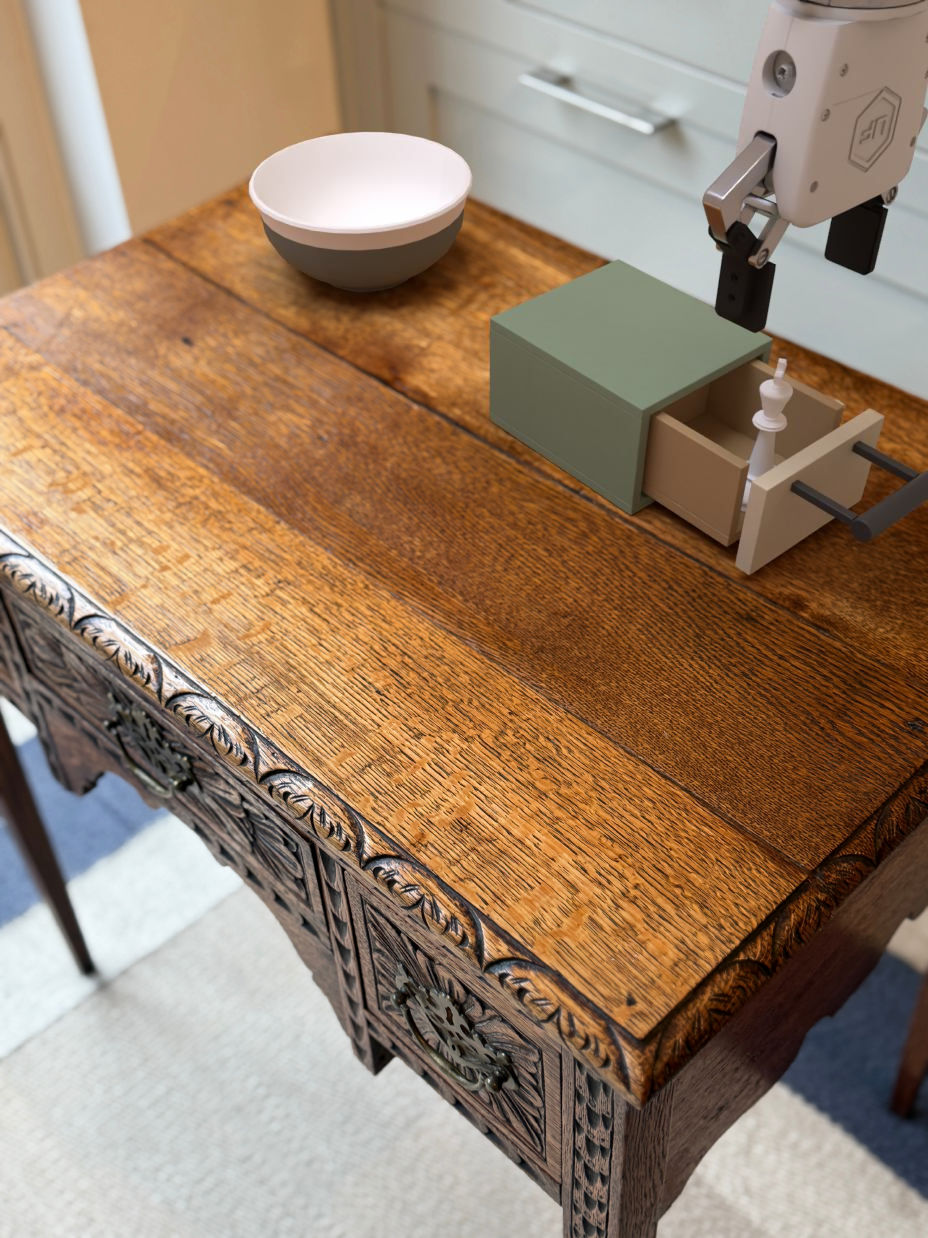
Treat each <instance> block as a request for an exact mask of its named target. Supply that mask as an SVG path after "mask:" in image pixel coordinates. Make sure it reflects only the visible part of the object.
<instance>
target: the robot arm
mask: <svg viewBox="0 0 928 1238" xmlns="http://www.w3.org/2000/svg"><path fill="white" fill-rule="evenodd" d="M746 90H747V91H746V93H745V94H746V95H745V99H744V104H743V109H742V115H741V119H740V125H739V130H738V138H737V144H736V148H735V149H736V151H735V157H734V158H735V159H733V161H732V162H731V163H730V164H729V165H728V166H727V167H726V168H725V169H724V170H723V172H722V173H721V174H720V175H719V176H718V177H717V178H716V179H715V180H714V181H713V183H711V184H710V186H708V188H706V190H705V191H704V193H703V196H702V206H703V210H704V214H705V217H706V221H707V224H708V228H707V233H708V236H709V237H710V238H711V240H713V241H714V242H715V249H716V251H718V252H720V253H721V259H720V268H719V276H718V282H717V289H716V295H715V296H716V297H715V303H714V309H715V311H716V313H717V315H719V316H720V317H722V318H724V319H726V320H728V321H730V322H732V323H734V324H736V325H738V326H741V327H743V328H745V329H747V330H749V331H751V332H753V333H757V332H761V331H764V329H765V328H766V325H767V321H768V316H769V309H770V305H771V299H772V292H773V287H774V280H775V275H776V270H777V269H776V268H777V263H774V262H772V261H770V258H772V255H773V254H774V252H775V250H776V248H777V247H778V245H779V243H780V241H781V240H782V239H783V236H784V235H785V233H786V232H787V229H788V228H789V226H790V225H792V226H794V227H796V228H798V229H807V228H811V227H814V226H817V225H820V224H822V223H823V222H825V221H828V220H830V219H831V220H830V222H829V223H830V224H829V229H828V233H827V239H826V244H825V249H824V253H823V255H824V259H825V260H827V261H829V262H831V263H832V264H835V265H838V266H840V267H842V268H845V269H847V270H848V271H849V270H850V271H852V272H854V273H857V274H859V275H861V276H867V275H869V274H871V273H873V272H875V271H874V270H875V268H876V265H877V260H878V256H879V251H880V247H881V243H882V239H883V234H884V231H885V226H886V222H887V216H888V213H889V208H887V207H888V206H891V205H892V204H893V202H895V200H896V198H897V196H898V194H899V184H900V183H901V182H902V181H903V180H904V179H905V178H906V176H908V174H909V172H910V169H911V166H912V163H913V159H914V155H915V150H916V147H917V141H918V138H919V135H920V133H921V131H922V129H923V127H924V125H925V122H926V120H927V118H928V108H927V107H925V102H926V97H927V91H928V0H773V1H771V2H770V3H769V6H768V9H767V13H766V15H765V20H764V23H763V26H762V30H761V32H760V37H759V40H758V44H757V48H756V51H755V56H754V60H753V64H752V68H751V72H750V76H749V80H748V84H747V89H746ZM773 195H774V197H775V202H774V201H773V200H770V199H768V197H770V196H773ZM884 206H885V207H884ZM755 214H758V215H760V216H764V217H766V218H768V219H767V222H766V223H765V225H764V227H763V229H762V230H761V232H760V233H759V235H758V237H757V236H756V235H755V233H754V232H753V231H752V230H751V228H749V224H750V223H751V221H752V219H753V218H754V216H755Z"/></svg>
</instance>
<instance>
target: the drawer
mask: <svg viewBox="0 0 928 1238" xmlns="http://www.w3.org/2000/svg"><path fill="white" fill-rule="evenodd" d="M776 370H777V368H775V367H772V366H771V365H769V364H768V365H767V364H765V363H763V362H761V361H759V360H758V359H756V358H753V359H752V360H750V361H748V362H746V363H744V364H742V365H741V366H739V367H737V368H735V369H733V370H732V371H730V372H728V373H726V374H724V375H722V376H721V377H719V378H717V379H715V380H713V381H712V382H710V383H708V384H706V385H704V386H702V387H701V388H699V389H697V390H695V391H693V392H692V393H690V394H688V395H686V396H684V397H682V398H681V399H679V400H677V401H675V402H673V403H672V404H670V405H668V406H666V407H664V408H662V409H661V410H659V411H657V412H655V413H653V414H652V415H650V420H649V429H648V437H647V446H646V454H645V463H644V471H643V480H642V488H641V491H642V492H644V493H645V494H647V495H648V496H650V497H651V498H653V499H654V500H656V501H655V502H658V503H659V504H660V505H662V506H664V507H665V508H667V509H668V510H670V511H671V512H673V513H674V514H675V515H677V516H678V517H680V518H682V519H684V521H686V522H688V523H689V524H691V525H692V526H694V527H696V528H697V529H698V530H700V531H702V532H703V533H705V534H706V535H708V536H709V537H711V539H714V540H715V541H717V542H719V544H721V545H723V546H724V547H729V546H731V545H732V544H734V543H736V542H737V541H738V540H739V544H738V548H737V554H736V558H735V562H734V563H735V564H734V566H735V567H736V568H737V569H739V570H740V571H742V572H743V573H745V574H746V575H748V576H751V575H752V574H754V573H755V572H756V571H758V570H759V569H761V568H763V567H764V566H765V565H767V564H768V563H770V562H771V561H773V560H775V559H776V558H777V557H779V556H780V555H782V554H783V553H785V552H786V551H788V550H789V549H791V548H792V547H793V546H796V545H797V544H798V543H800V542H801V541H802V540H804V539H805V538H807V537H808V536H810V535H812V534H813V533H814V532H815V531H817V530H820V529H821V528H822V527H823V526H825V525H826V524H827V523H829V522H831V521H832V520H833V519H836V520H838V521H840V522H841V523H843V524H845V525H847V526H848V527H849V531H850V534H851V535H852V537H853V538H854V539H855V540H856V541H857V542H860V543H868V542H871V540H873V539H875V538H876V537H877V536H879V535H880V534H881V533H883V532H884V531H886V530H887V529H889V528H890V527H891V526H893V525H894V524H895V523H897V522H898V521H900V520H901V519H903V518H904V517H906V516H907V515H909V514H910V513H911V512H914V510H916V509H917V508H918V507H920V506H921V505H923V504H924V503H925V502H928V470H925V471H923V472H922V473H920V472H918V471H916V470H915V469H912V468H911V467H909V466H907V465H905V464H903V463H902V462H900V461H899V460H896V459H894V458H892V457H891V456H889V455H887V454H885V453H883V452H882V451H879V450H878V449H877V445H878V442H879V439H880V435H881V431H882V428H883V424H884V421H885V418H886V416H885V415H883V414H882V413H880V412H877V410H874V409H873V408H867V409H865V411H863V412H861V413H860V414H858V415H856V416H854V417H853V418H851V419H850V420H848V421H847V422H846V423H845V422H844V424H842V425H841V422H842V418H843V414H844V410H845V405H844V404H843V403H840V402H838V401H837V400H835V399H833V398H831V397H829V396H827V395H825V394H823V393H822V392H820V391H818V390H816V389H814V388H812V387H810V386H809V385H806V384H805V383H803V382H801V381H799V380H797V379H795V378H794V377H792V376H790V375H788V374H786V373H784V375H783V380H782V381H785V382H787V383H788V384H790V385H791V387H792V389H793V394H792V396H791V398H790V399H789V401H788V402H787V403H786V405H785V407H784V409H783V410H782V412H781V413H782V414H783V415H784V416H785V417H786V419H787V426H786V427H785V428H784V429H783V430H781V431H778V432H776V435H775V447H774V465H775V466H776V467H774V468H772V469H771V470H769V471H768V472H766V473H764V474H763V475H761V476H760V477H758V478H756V479H755V480H753V481H752V483H751V488H750V493H749V498H748V503H747V508H746V512H743V511H741V506H742V501H743V496H744V491H745V486H746V481H747V476H748V471H749V466H750V464H749V463H748V462H746V461H749V460H750V457H751V454H752V452H753V449H754V446H755V443H756V440H757V437H758V434H759V431H760V429H758V428H757V427H756V426H755V425H754V424H753V422H752V419H753V417H754V415H755V414H756V413H757V412H758V411H760V410H763V408H762V400H761V396H760V385H761V384H762V383H763V382H765V381H767V380H771V379H774V375H775V373H776ZM872 464H873V465H875V466H878V467H879V468H881V469H882V470H885V471H886V472H888V473H890V474H892V475H893V476H895V477H897V478H899V479H900V480H903V481H905V482H906V484H904V485H902V486H901V487H900V488H898V489H896V490H895V491H894V492H892V493H891V494H889V495H887V496H886V497H885V498H884V499H882V500H880V501H879V502H878V503H876V504H875V505H872V507H870V508H869V509H867V510H866V511H864V512H863V513H861V514H860V515H859V514H857V513H856V512H854V511H852V510H851V509H850V508H851V507H853V506H854V505H856V504H857V503H859V502H861V500H862V497H863V494H864V492H865V491H864V490H865V487H866V484H867V481H868V477H869V474H870V469H871V466H872Z"/></svg>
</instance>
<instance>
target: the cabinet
mask: <svg viewBox="0 0 928 1238" xmlns="http://www.w3.org/2000/svg"><path fill="white" fill-rule="evenodd" d="M773 343H774V338H773V337H770V336H769V335H767V334H765V333H763V332H761V331H759V332H757V333H753V332H751V331H749V330H747V329H745V328H743V327H741V326H738V325H736V324H734V323H732V322H730V321H728V320H726V319H724V318H722V317H720V316H719V315H717V313H716V311H715V307H712V306H710V305H709V304H707V303H705V302H703V301H701V300H699V299H697V298H695V297H693V296H691V295H689V294H687V293H686V292H683V291H681V290H679V289H677V288H675V287H673V286H672V285H670V284H668V283H666V282H664V281H662V280H660V279H658V278H656V277H654V276H652V275H650V274H649V273H646V272H644V271H642V270H640V269H639V268H637V267H634V266H633V265H631V264H629V263H627V262H625V261H623V260H621V259H616V260H614V261H611V262H609V263H607V264H605V265H603V266H600V267H598V268H596V269H594V270H592V271H589V272H587V273H585V274H583V275H580V276H578V277H576V278H574V279H571V280H570V281H568V282H565V283H563V284H561V285H559V286H556V287H553V288H552V289H550V290H547V291H545V292H544V293H541V294H539V295H537V296H535V297H533V298H531V299H528V300H526V301H524V302H522V303H520V304H519V303H518V304H517V305H515V306H513V307H510V308H509V309H506V310H504V311H502V312H500V313H497V314H495V315H493V316H491V317H490V318H489V421H490V422H491V423H493V424H495V425H496V426H497V427H499V428H500V429H502V431H503V430H504V431H505V432H506V433H508V434H509V435H511V437H514V438H515V439H517V440H518V441H520V442H521V443H522V444H524V445H526V446H527V447H528V448H530V450H531V449H532V450H533V451H534V452H536V453H537V454H539V455H540V456H542V457H543V458H545V459H546V460H547V461H549V462H551V463H552V464H554V465H555V466H556V467H558V468H559V469H561V470H563V471H564V472H566V473H567V474H568V475H570V476H572V477H573V478H575V479H576V480H577V481H578V482H580V483H582V484H583V485H585V486H586V487H588V488H589V489H591V490H592V491H593V492H595V493H596V494H598V495H599V496H601V497H603V499H605V500H607V501H608V502H610V503H611V504H613V505H614V506H615V507H617V508H619V509H620V510H622V511H623V512H625V513H626V514H628V515H629V516H633V515H635V514H636V513H638V512H640V511H641V510H643V509H644V508H647V507H648V506H650V505H651V504H653V503H655V502H657V501H656V500H654V499H653V498H651V497H650V496H648V495H647V494H645V493H644V492H642V491H641V488H642V480H643V471H644V463H645V454H646V446H647V437H648V429H649V420H650V415H652V414H653V413H655V412H657V411H659V410H661V409H662V408H664V407H666V406H668V405H670V404H672V403H673V402H675V401H677V400H679V399H681V398H682V397H684V396H686V395H688V394H690V393H692V392H693V391H695V390H697V389H699V388H701V387H702V386H704V385H706V384H708V383H710V382H712V381H713V380H715V379H717V378H719V377H721V376H722V375H724V374H726V373H728V372H730V371H732V370H733V369H735V368H737V367H739V366H741V365H742V364H744V363H746V362H748V361H750V360H752V359H753V358H756V359H758V360H759V361H761V362H763V363H765V364H767V365H769V363H770V358H771V353H772V347H773Z"/></svg>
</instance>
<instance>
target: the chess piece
mask: <svg viewBox="0 0 928 1238" xmlns="http://www.w3.org/2000/svg"><path fill="white" fill-rule="evenodd" d="M787 361H788V360H787V359H786V358H780V357H779V358H778V361H777V365H776V373H775V375H774V379H771V380H767V381H765V382H763V383H762V384H761V385H760V396H761V400H762V408H763V410H760V411H758V412H757V413H756V414H755V415H754V417H753V419H752V422H753V424H754V425H755V426H756V427H757V428H758V429H760V431H759V434H758V437H757V440H756V443H755V446H754V449H753V452H752V454H751V457H750V460H749V461H746V462H748V463H749V464H750V466H749V471H748V476H747V481H746V486H745V491H744V496H743V501H742V506H741V511H743V512H746V508H747V503H748V498H749V493H750V488H751V483H752V481H753V480H755V479H756V478H758V477H760V476H761V475H763V474H764V473H766V472H768V471H769V470H771V469H772V468H774V467H776V466H775V465H774V447H775V435H776V432H778V431H781V430H783V429H784V428H785V427H786V426H787V419H786V417H785V416H784V415H783V414H782V413H781V412H782V410H783V409H784V407H785V405H786V403H787V402H788V401H789V399H790V398H791V396H792V394H793V389H792V387H791V385H790V384H788V383H787V382H785V381H782V380H783V375H784V374H785V373H786V369H787V365H788V364H787Z"/></svg>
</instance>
